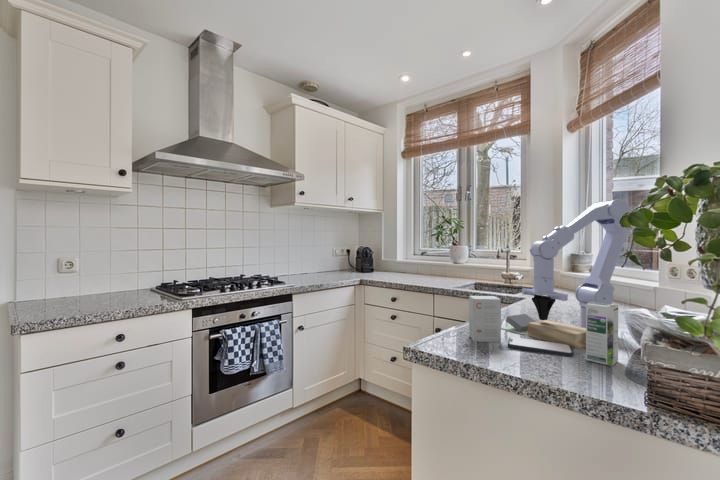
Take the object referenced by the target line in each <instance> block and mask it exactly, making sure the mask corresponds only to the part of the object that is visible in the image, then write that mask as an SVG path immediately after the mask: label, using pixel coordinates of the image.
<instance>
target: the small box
mask: <svg viewBox="0 0 720 480" xmlns="http://www.w3.org/2000/svg"><path fill="white" fill-rule="evenodd" d="M501 306H502V301H501V298H499V297H497V296H495V295H469V296H468V329H469V330H468V335H469V337H471V338H472V339H471V338H470V339H471V340H472V341H473V342H474V341H475V343H476V342H477V341H478V342H477V343H479V342H480V343H484V342H485V343H501V342H502V329H501V327H502V316H501V315H502V307H501Z"/></svg>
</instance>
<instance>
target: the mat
mask: <svg viewBox="0 0 720 480" xmlns="http://www.w3.org/2000/svg"><path fill="white" fill-rule="evenodd" d="M501 330H504V331H507V332H511V333H515V334H518V335H522V336H524V335H528V330H527V331H521V332H519V331H518V330H517V329H515V328H514V327H513V326H511V325H507V326H501Z"/></svg>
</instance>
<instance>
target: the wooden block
mask: <svg viewBox="0 0 720 480" xmlns="http://www.w3.org/2000/svg"><path fill="white" fill-rule="evenodd" d="M527 336H529V337H531V338H532V337H533V338H536V339H540V340H542V341H543V340H544V341H545V342H552V343H559V344H566V345H570V346H571V348H572V349H574V350H575V349H579V348H583V347H584V348H585V347H586V328H583V327H580V326H577V325H573V324H570V323H569V324H567V323H563V322H559V321H555V320H551V319H547V320H537V321H536V322H530V323H528V334H527Z"/></svg>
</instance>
